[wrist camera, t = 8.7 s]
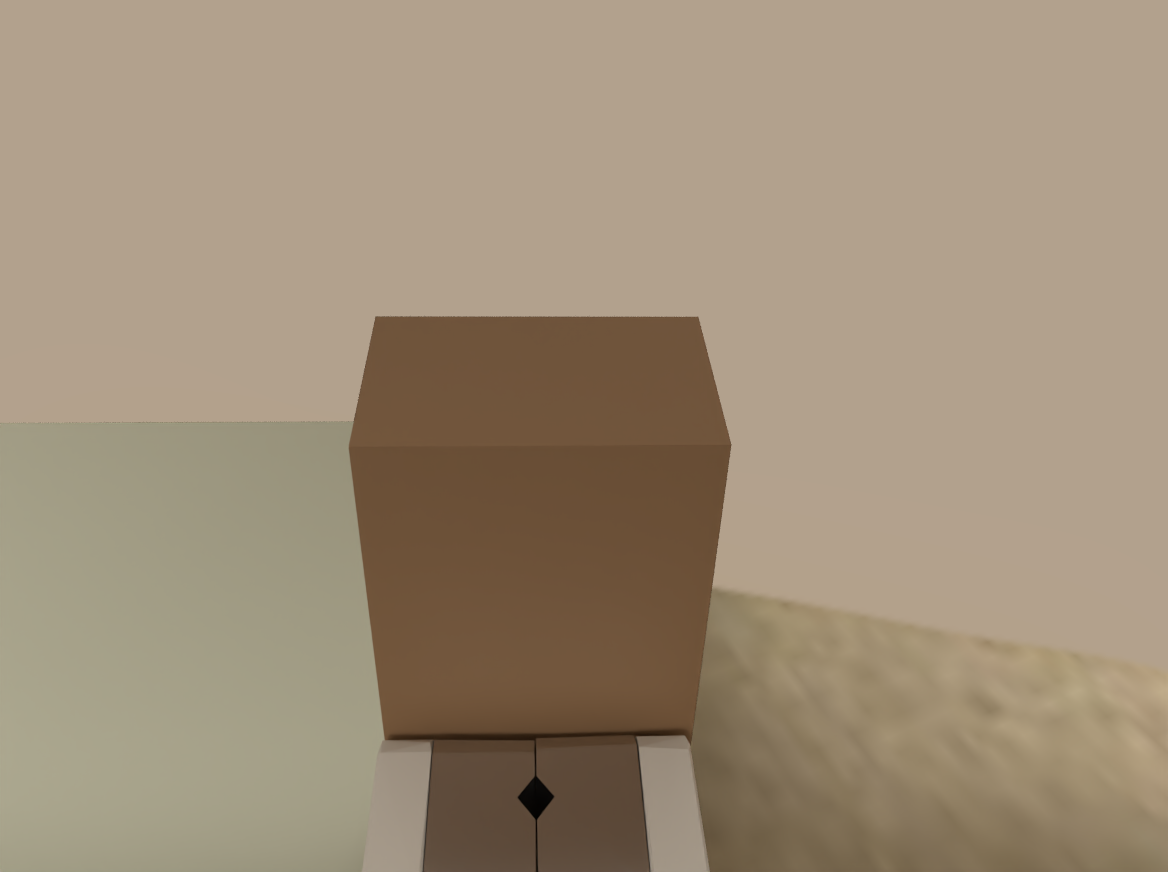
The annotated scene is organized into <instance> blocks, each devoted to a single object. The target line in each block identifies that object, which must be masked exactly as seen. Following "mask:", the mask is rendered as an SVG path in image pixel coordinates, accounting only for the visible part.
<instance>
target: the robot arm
mask: <svg viewBox="0 0 1168 872" xmlns="http://www.w3.org/2000/svg"><path fill="white" fill-rule="evenodd" d="M362 872H710V869H709V862H708V856H707V850H706V843H705V837H704V830H703V824H702V817H701V811H700V804H699V798H698V791H697V785H696V779H695V772H694V766H693V759H692V753H691V746H690V744H689V742H688V740H687V738H686V737H685V736H684V735H670V736H636V737H635V738H634V736H633V735H620V736H590V737H559V738H536V750H535V742H534V740H382V743H381V746H380V749H379V752H378V754H377V759H376V767H375V775H374V783H373V791H372V798H371V806H370V814H369V822H368V830H367V837H366V845H365V853H364V861H363V869H362Z"/></svg>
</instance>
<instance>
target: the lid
mask: <svg viewBox="0 0 1168 872" xmlns="http://www.w3.org/2000/svg"><path fill="white" fill-rule="evenodd" d="M730 450H731V442H730V439H729V434H728V430H727V426H726V423H725V419H724V415H723V411H722V407H721V403H720V399H719V395H718V392H717V388H716V384H715V380H714V376H713V372H712V369H711V365H710V361H709V357H708V353H707V349H706V345H705V342H704V337H703V333H702V330H701V326H700V322H699V318H698V317H375V322H374V327H373V332H372V336H371V341H370V346H369V351H368V356H367V361H366V365H365V370H364V375H363V380H362V385H361V389H360V394H359V399H358V404H357V408H356V413H355V418H354V422H164V423H163V422H160V423H159V422H146V423H145V422H142V423H141V422H138V423H0V872H362V869H363V861H364V853H365V845H366V837H367V830H368V822H369V814H370V806H371V798H372V791H373V783H374V775H375V767H376V759H377V754H378V752H379V749H380V746H381V743H382V740H534V742H535V750H536V738H559V737H590V736H620V735H633V736H634V738H635V737H636V736H670V735H684V736H685V737H686V738H687V740H688V742H689V744H690V746H691V738H692V731H693V724H694V716H695V709H696V701H697V694H698V687H699V679H700V672H701V665H702V657H703V650H704V642H705V635H706V628H707V620H708V613H709V605H710V598H711V591H712V583H713V576H714V568H715V560H716V554H717V546H718V539H719V532H720V524H721V517H722V509H723V502H724V494H725V487H726V480H727V472H728V465H729V457H730Z"/></svg>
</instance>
